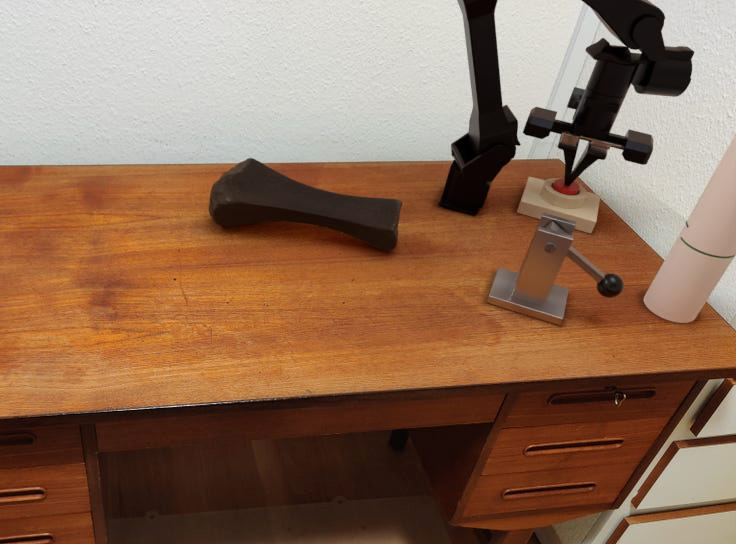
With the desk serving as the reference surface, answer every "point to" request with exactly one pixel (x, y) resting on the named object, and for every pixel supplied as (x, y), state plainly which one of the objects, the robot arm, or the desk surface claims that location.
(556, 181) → the button
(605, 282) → the lever
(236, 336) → the desk surface
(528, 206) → the button box
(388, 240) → the dark brown bone
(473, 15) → the robot arm
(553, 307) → the bracket
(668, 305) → the cylindrical container
